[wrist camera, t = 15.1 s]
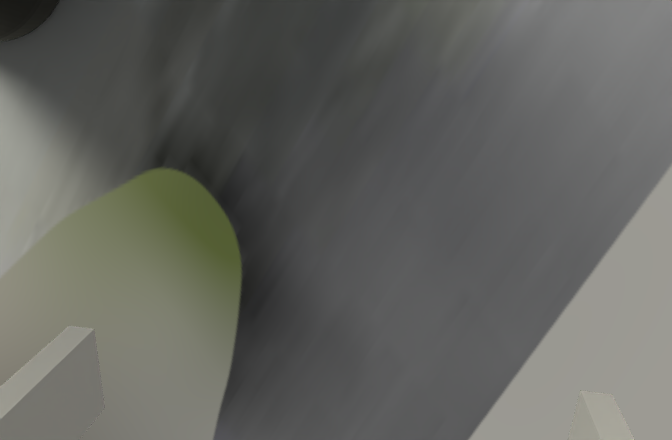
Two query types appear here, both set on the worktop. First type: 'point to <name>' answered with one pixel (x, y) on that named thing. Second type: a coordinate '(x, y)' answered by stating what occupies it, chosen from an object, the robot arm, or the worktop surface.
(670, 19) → the worktop surface
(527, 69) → the worktop surface
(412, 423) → the worktop surface
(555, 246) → the worktop surface
